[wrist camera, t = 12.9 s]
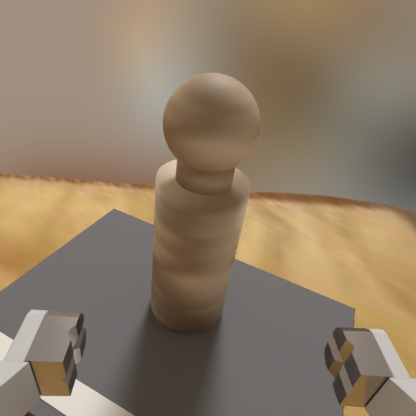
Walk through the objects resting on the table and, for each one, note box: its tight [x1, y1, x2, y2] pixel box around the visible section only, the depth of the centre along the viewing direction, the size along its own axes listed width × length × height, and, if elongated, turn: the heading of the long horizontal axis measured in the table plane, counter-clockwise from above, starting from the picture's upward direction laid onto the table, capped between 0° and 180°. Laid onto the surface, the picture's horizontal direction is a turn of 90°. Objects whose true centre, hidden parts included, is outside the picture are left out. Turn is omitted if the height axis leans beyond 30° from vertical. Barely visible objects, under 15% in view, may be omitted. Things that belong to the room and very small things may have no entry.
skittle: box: [151, 73, 260, 335], centre depth 19 cm, size 5×5×15 cm
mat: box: [0, 209, 355, 416], centre depth 22 cm, size 22×16×1 cm
